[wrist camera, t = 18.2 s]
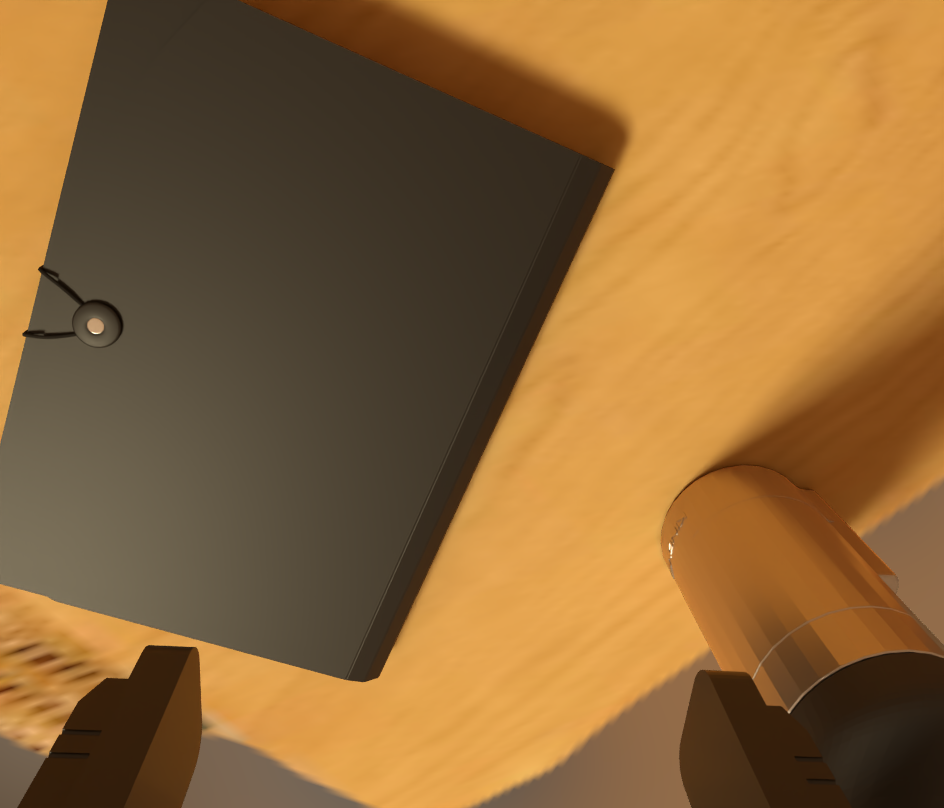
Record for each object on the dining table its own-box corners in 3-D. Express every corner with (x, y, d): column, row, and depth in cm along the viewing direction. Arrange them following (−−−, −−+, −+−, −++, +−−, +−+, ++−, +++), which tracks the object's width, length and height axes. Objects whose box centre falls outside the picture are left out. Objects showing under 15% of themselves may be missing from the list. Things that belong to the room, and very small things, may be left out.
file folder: (112, -57, 34) (623, 173, 39) (141, -44, 38) (603, 164, 43) (-39, 578, 44) (379, 692, 50) (-5, 538, 48) (381, 648, 53)
